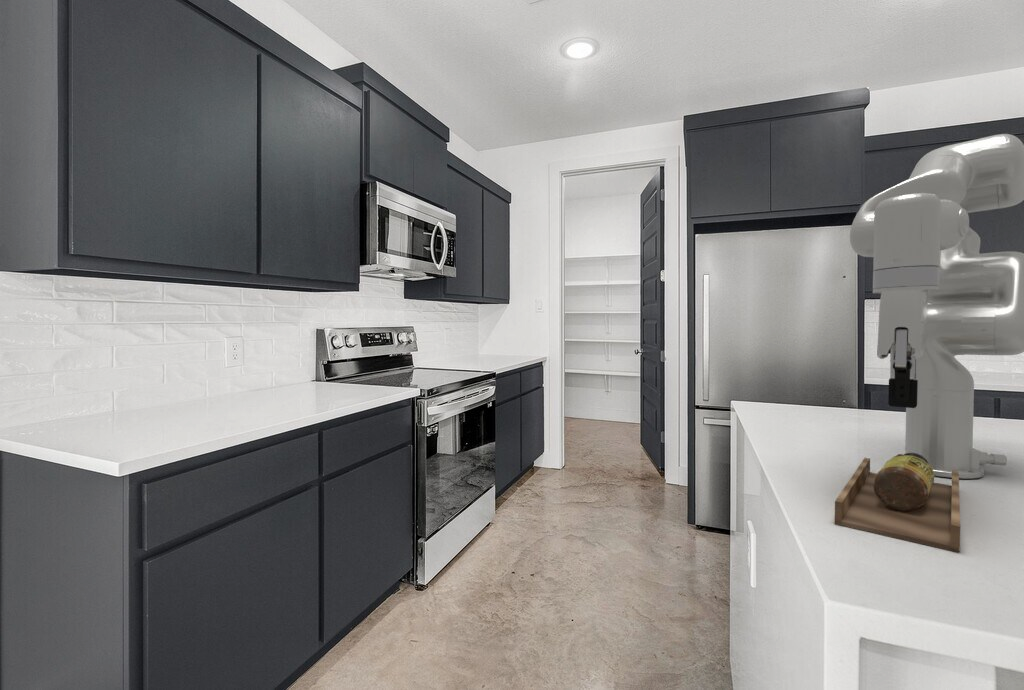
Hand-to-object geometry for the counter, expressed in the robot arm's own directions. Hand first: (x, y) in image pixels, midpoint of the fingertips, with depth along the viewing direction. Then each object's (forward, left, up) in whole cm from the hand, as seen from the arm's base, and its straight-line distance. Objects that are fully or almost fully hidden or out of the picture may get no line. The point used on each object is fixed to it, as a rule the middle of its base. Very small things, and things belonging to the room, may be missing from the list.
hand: (902, 406), depth 70 cm
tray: (-1, -2, -16) cm, 16 cm away
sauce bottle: (+2, +3, -12) cm, 13 cm away
